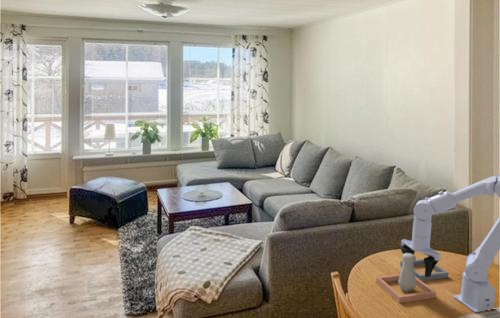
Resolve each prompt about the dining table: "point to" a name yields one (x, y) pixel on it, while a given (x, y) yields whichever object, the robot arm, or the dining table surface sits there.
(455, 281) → the dining table surface
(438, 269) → the grey square frame
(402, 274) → the salt shaker
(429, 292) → the salmon pink square frame
